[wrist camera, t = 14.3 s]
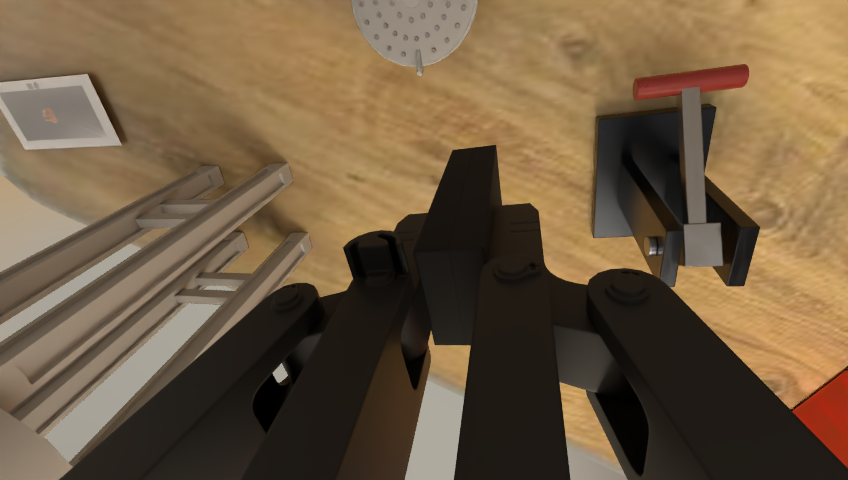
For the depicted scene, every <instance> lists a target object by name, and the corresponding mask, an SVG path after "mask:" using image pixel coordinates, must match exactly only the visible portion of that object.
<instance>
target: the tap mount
mask: <svg viewBox="0 0 848 480" xmlns="http://www.w3.org/2000/svg"><path fill="white" fill-rule="evenodd" d="M715 112H716V107H715V106H713V105H711V104H702V105H701V116H702V136H703V156H704V172H705V167H706V162H707V156H708V151H709V145H710V140H711V134H712V129H713V123H714V118H715ZM704 177H705V197H706V217H707V223H721V228H722V248H723V266H712V267H713V268H714V269H715V271H716V272H717V274H718V275H719V276H720V278H721V279H722V280H723V282H724V283H725V285H726V286H744V285H745V281H746V277H747V274H748V270H749V266H750V263H751V259H752V255H753V252H754V248H755V244H756V241H757V237H758V233H759V230H760V226H758V225H757V224H756V223H755V222H754V221H753V220H752V219H751V218H750V217H749V216H748V215H747V214H746V213H745V212H743V211H742V210H741V209H740V208H739V207H738V206H737V205H736V204H735V203H734V202H733V201H732V200H731V199H730V198H729V197H727V196H726V195H725V194H724V193H723V192H722V191H721V190H720V189H719V188H718V187H717V186H716V185H715V184H714V183H712V182H711V181H710V180H709V179H708V178H707V177H706V176H705V175H704ZM682 224H683V215H682V194H681V174H680V153H679V133H678V112H677V107H676V108H667V109H658V110H649V111H640V112H632V113H623V114H614V115H605V116H597V117H596V135H595V159H594V183H593V207H592V235H593V237H594V238H605V237H628V236H634V238H635V240H636V242H637V244H638V246H639V248H640V250H641V252H642V254H643V256H644V258H645V260H646V262H647V264H648V266H649V268H650V270H651V272H652V274H653V275H654V276H656V277H657V278H659V279H660V280H662V281H663V282H665V283H666V284H667V285H668V286H669V287H675V282H676V276H677V270H678V264H679V258H680V252H681V246H682V240H683V235H684V230H683V228H682V227H681V225H682Z"/></svg>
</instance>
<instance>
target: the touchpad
mask: <svg viewBox="0 0 848 480" xmlns="http://www.w3.org/2000/svg"><path fill="white" fill-rule="evenodd" d="M0 109H1V110H2V112H3V114H4V115H5V117H6V119H7V120H8V122H9V124H10V125H11V127H12V129H13V130H14V132H15V133H16V135H17V137H18V138H19V140H20V142H21V143H22V145H23V147H24V148H25V150H29V149H51V148H73V147H95V146H116V145H121V143H120V140H119V138H118V136H117V134H116V132H115V130H114V128H113V126H112V124H111V122H110V120H109V118H108V116H107V114H106V111H105V109H104V107H103V105H102V103H101V101H100V99H99V97H98V95H97V93H96V91H95V89H94V87H93V85H92V82H91V80H90V78H89V76H88V74H82V75H72V76H62V77H51V78H41V79H31V80H21V81H10V82H0Z"/></svg>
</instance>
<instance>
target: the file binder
mask: <svg viewBox="0 0 848 480" xmlns="http://www.w3.org/2000/svg"><path fill="white" fill-rule="evenodd" d="M792 412H793V413H794V414H795V415H796V416H797V417H798V418H799V419H800V420H801V421H802V422H803V423H804V424H805V425H806V426H807V427H808V428H809V429H810V430H811V431H812V432H813V433H814V434H815V435H816V436H817V437H818V438H819V439H820V440H821V441H822V442H823V443H824V444H825V445H826V446H827V448H828V449H829V450H830V451H831V452H832V453H833V454H834V455H835V456H836V457H837V458H838V459H839V460H840V461H841V462H842V463H843V464H844V465H845V466H846V467H847V468H848V369H847V370H846V371H845V372H843V373H842V374H841V375H839V376H838V377H837V378H835V379H834V380H833V381H832V382H830V383H829V384H828V385H826V386H825V387H824V388H822V389H821V390H820V391H818V392H817V393H816V394H814V395H813V396H812V397H810V398H809V399H808V400H806V401H805V402H804V403H802V404H801V405H800V406H798V407H797V408H796V409H794V410H793V411H792Z"/></svg>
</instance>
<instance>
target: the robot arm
mask: <svg viewBox="0 0 848 480" xmlns="http://www.w3.org/2000/svg"><path fill="white" fill-rule="evenodd" d="M343 249H344V252H345V255H346V258H347V261H348V264H349V267H350V270H351V273H352V276H353V280H352V282H351V284H350V286H349V287H348V289H347V291H344V292H340V293H336V294H332V295H328V296H324V297H320V296H319V294H318V291H317V290H316V288H315V287H314V285H311V284H308V283H295V284H291V285H286V286H284V287H282V288H280V289H278V290H276V291H274V292H273V293H271V294H270V295H269V296H267V297H266V298H265V299H263V300H262V301H261V302H260V303H259V304H258V305H257V306H256V307H254V308H253V309H252V310H251V311H250V312H249V313H248V314H246V315H245V316H244V317H243V318H242V319H241V320H240V321H238V322H237V323H236V324H235V325H234V326H233V327H232V328H231V329H229V330H228V331H227V332H226V333H225V334H224V335H223V336H221V337H220V338H219V339H218V340H217V341H216V342H215V343H213V344H212V345H211V346H210V347H209V348H208V349H207V350H206V351H204V352H203V353H202V354H201V355H200V356H199V357H198V358H196V359H195V360H194V361H193V362H192V363H191V364H190V365H189V366H187V367H186V368H185V369H184V370H183V371H182V372H181V373H179V374H178V375H177V376H176V377H175V378H174V379H173V380H171V381H170V382H169V383H168V384H167V385H166V386H165V387H164V388H162V389H161V390H160V391H159V392H158V393H157V394H156V395H154V396H153V397H152V398H151V399H150V400H149V401H148V402H146V403H145V404H144V405H143V406H142V407H141V408H140V409H139V410H137V411H136V412H135V413H134V414H133V415H132V416H131V417H129V418H128V419H127V420H126V421H125V422H124V423H123V424H121V425H120V426H119V427H118V428H117V429H116V430H115V431H114V432H112V433H111V434H110V435H109V436H108V437H107V438H106V439H104V440H103V441H102V442H101V443H100V444H99V445H98V446H96V447H95V448H94V449H93V450H92V451H91V452H90V453H89V454H87V455H86V456H85V457H84V458H83V459H82V460H81V461H79V462H78V463H77V464H76V465H75V466H74V467H73V468H71V469H70V470H69V471H68V472H67V473H66V474H65V475H64V476H62V477H61V478H60V479H59V480H405V475H406V471H407V466H408V462H409V457H410V453H411V448H412V444H413V439H414V435H415V431H416V426H417V422H418V417H419V413H420V408H421V403H422V399H423V395H424V390H425V385H426V381H427V377H428V372H429V368H430V363H431V354H430V350H429V346H428V340H429V336H430V332H431V331H432V335H433V339H434V343H435V345H471V349H470V357H469V365H468V373H467V380H466V388H465V396H464V405H463V412H462V420H461V428H460V436H459V444H458V452H457V460H456V468H455V475H454V480H570V473H569V464H568V455H567V446H566V437H565V428H564V419H563V411H562V402H561V393H560V384H559V382H561V383H565V384H568V385H571V386H575V387H578V388H581V389H585V390H586V393H587V397H588V399H589V401H590V403H591V405H592V407H593V409H594V411H595V413H596V415H597V417H598V419H599V421H600V423H601V426H602V428H603V430H604V432H605V434H606V436H607V438H608V440H609V442H610V444H611V446H612V448H613V450H614V452H615V454H616V457H617V459H618V461H619V463H620V465H621V467H622V469H623V471H624V473H625V475H626V477H627V479H628V480H848V468H847V467H846V466H845V465H844V464H843V463H842V462H841V461H840V460H839V459H838V458H837V457H836V456H835V455H834V454H833V453H832V452H831V451H830V450H829V449H828V448H827V446H826V445H825V444H824V443H823V442H822V441H821V440H820V439H819V438H818V437H817V436H816V435H815V434H814V433H813V432H812V431H811V430H810V429H809V428H808V427H807V426H806V425H805V424H804V423H803V422H802V421H801V420H800V419H799V418H798V417H797V416H796V415H795V414H794V413H793V412H792V411H791V410H790V409H789V408H788V407H787V406H786V405H785V404H784V403H783V402H782V401H781V400H780V399H779V398H778V397H777V396H776V395H775V394H774V393H773V392H772V391H771V390H770V389H769V388H768V387H767V386H766V385H765V384H764V383H763V382H762V381H761V380H760V379H759V377H758V376H757V375H756V374H755V373H754V372H753V371H752V370H751V369H750V368H749V367H748V366H747V365H746V364H745V363H744V362H743V361H742V360H741V359H740V358H739V357H738V356H737V355H736V354H735V353H734V352H733V351H732V350H731V349H730V348H729V347H728V346H727V345H726V344H725V343H724V342H723V341H722V340H721V339H720V338H719V337H718V336H717V335H716V334H715V333H714V332H713V331H712V330H711V329H710V328H709V327H708V326H707V325H706V324H705V323H704V322H703V321H702V320H701V319H700V318H699V317H698V316H697V315H696V314H695V313H694V312H693V311H692V310H691V308H690V307H689V306H688V305H687V304H686V303H685V302H684V301H683V300H682V299H681V298H680V297H679V296H678V295H677V294H676V293H675V292H674V291H673V290H672V289H671V288H670V287H669V286H668V285H667V284H666V283H665V282H663V281H662V280H660V279H659V278H657V277H656V276H654V275H652V274H649V273H646V272H643V271H641V270H633V269H626V268H622V269H610V270H606V271H603V272H600V273H598V274H596V275H595V276H594V277H592V278H591V279H590V280H589V283H588V285H584V284H578V283H573V282H569V281H565V280H563V279H561V278H558V277H556V276H555V275H553V274H552V273H550V271H549V270H548V269H547V268H546V266H545V263H544V256H543V247H542V238H541V230H540V221H539V212H538V210H537V209H536V208H534V207H533V206H532V205H531V204H530V203H526V204H514V205H502V200H501V190H500V180H499V170H498V160H497V150H496V145H491V146H483V147H475V148H467V149H458V150H453V151H452V153H451V156H450V158H449V161H448V163H447V166H446V169H445V171H444V174H443V176H442V179H441V181H440V184H439V186H438V189H437V191H436V194H435V197H434V199H433V202H432V204H431V207H430V209H429V212H428V213H421V214H409V215H408V216H406V217H405V218H404V219H403V220H401V221H400V222H399V223H398V224H397V226H396V228H395V230H394V232H392V231H382V230H380V231H374V232H369V233H366V234H363V235H360V236H358V237H356V238H354V239H353V240H351V241H349V242H348V243H347V244H346V245H345V246H344V247H343ZM281 363H282V364H283V366H284V368H285V370H286V372H287V374H288V376H287V377H286V378H285V379H284V380H283V381H282V382H280V383H278V382H277V381H276V379H275V378H274V376H273V374H272V373H273V372H274V370H275V369H276V368H277V367H278V366H279V365H280V364H281Z"/></svg>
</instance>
